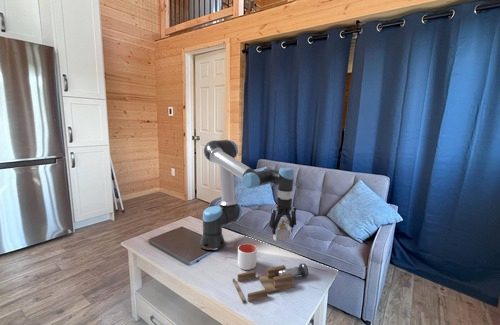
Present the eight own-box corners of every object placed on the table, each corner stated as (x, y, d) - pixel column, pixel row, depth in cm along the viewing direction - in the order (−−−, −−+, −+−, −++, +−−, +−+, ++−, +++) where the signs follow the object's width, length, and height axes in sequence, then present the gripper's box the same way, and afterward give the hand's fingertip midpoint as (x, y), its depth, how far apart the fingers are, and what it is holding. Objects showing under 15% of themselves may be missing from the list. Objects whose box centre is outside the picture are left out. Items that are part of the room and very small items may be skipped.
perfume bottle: (272, 240, 126) (273, 219, 124) (279, 233, 134) (281, 213, 132) (285, 244, 122) (286, 223, 120) (292, 237, 130) (293, 216, 128)
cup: (254, 272, 121) (255, 254, 120) (235, 269, 123) (235, 251, 122) (257, 261, 131) (258, 244, 129) (240, 259, 133) (240, 242, 131)
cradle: (232, 281, 114) (232, 271, 113) (280, 270, 123) (281, 261, 123) (242, 303, 100) (243, 292, 99) (296, 289, 109) (296, 279, 108)
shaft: (275, 277, 117) (276, 266, 116) (301, 271, 122) (302, 261, 121) (281, 285, 112) (282, 273, 111) (308, 278, 117) (308, 267, 116)
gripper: (270, 201, 116) (267, 244, 120) (305, 198, 123) (302, 239, 127) (263, 196, 123) (261, 237, 127) (297, 194, 130) (294, 233, 134)
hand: (281, 238), depth 127 cm, fingers closed on perfume bottle, 8 cm apart
